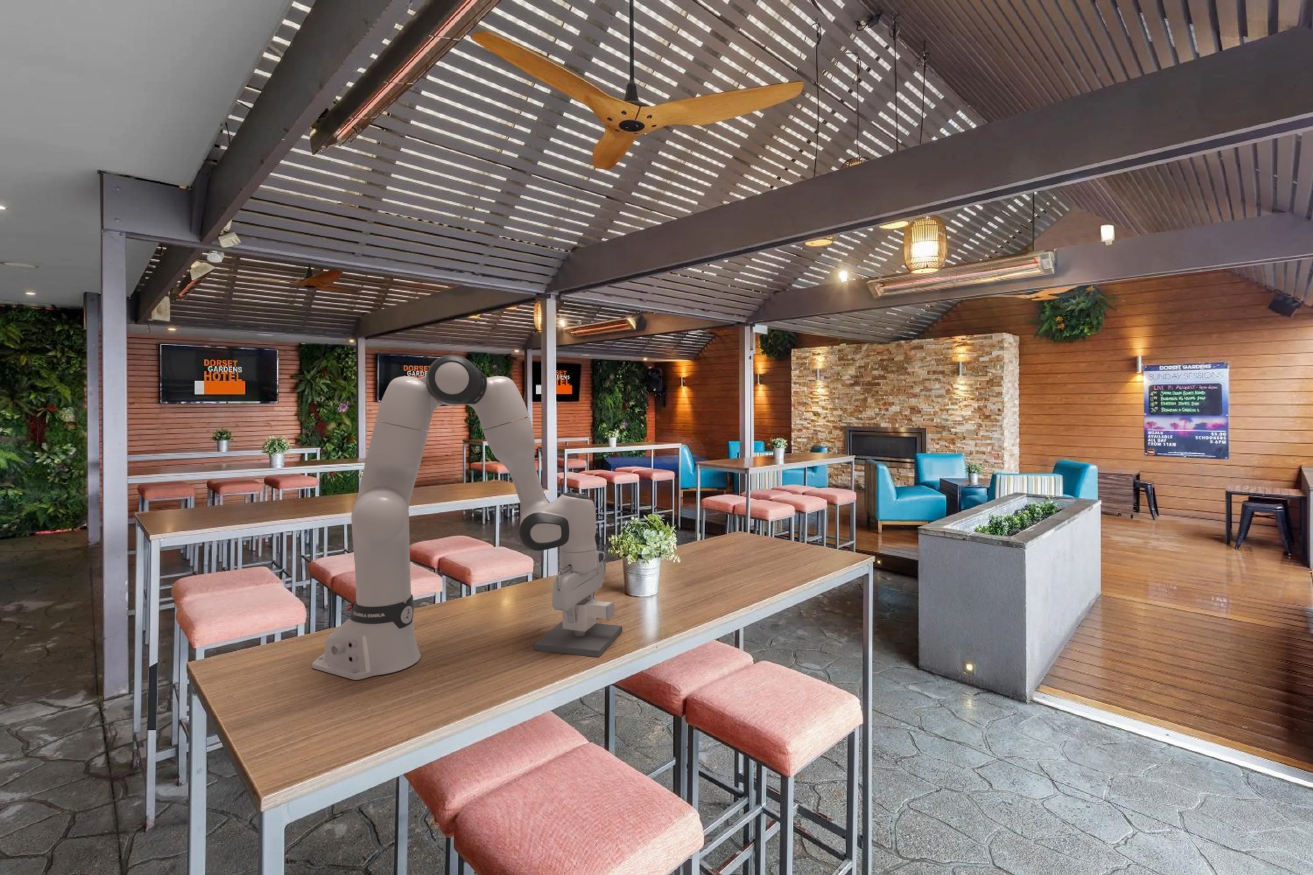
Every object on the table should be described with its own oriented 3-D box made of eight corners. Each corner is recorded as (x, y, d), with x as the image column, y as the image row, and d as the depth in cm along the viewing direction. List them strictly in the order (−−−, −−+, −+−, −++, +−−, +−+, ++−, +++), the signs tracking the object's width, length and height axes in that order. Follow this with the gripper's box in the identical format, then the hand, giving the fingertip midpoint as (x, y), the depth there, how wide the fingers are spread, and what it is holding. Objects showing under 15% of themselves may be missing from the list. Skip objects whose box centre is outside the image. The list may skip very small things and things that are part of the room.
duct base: (534, 650, 140) (533, 622, 139) (563, 626, 155) (562, 601, 155) (599, 657, 135) (598, 628, 135) (622, 631, 151) (621, 605, 150)
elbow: (562, 628, 144) (562, 603, 143) (574, 620, 149) (574, 595, 149) (606, 634, 140) (605, 608, 139) (616, 625, 145) (616, 600, 145)
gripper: (569, 572, 134) (570, 633, 134) (607, 551, 153) (608, 605, 154) (544, 570, 136) (545, 630, 137) (585, 549, 155) (586, 602, 156)
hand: (579, 617), depth 145 cm, fingers closed on elbow, 6 cm apart
